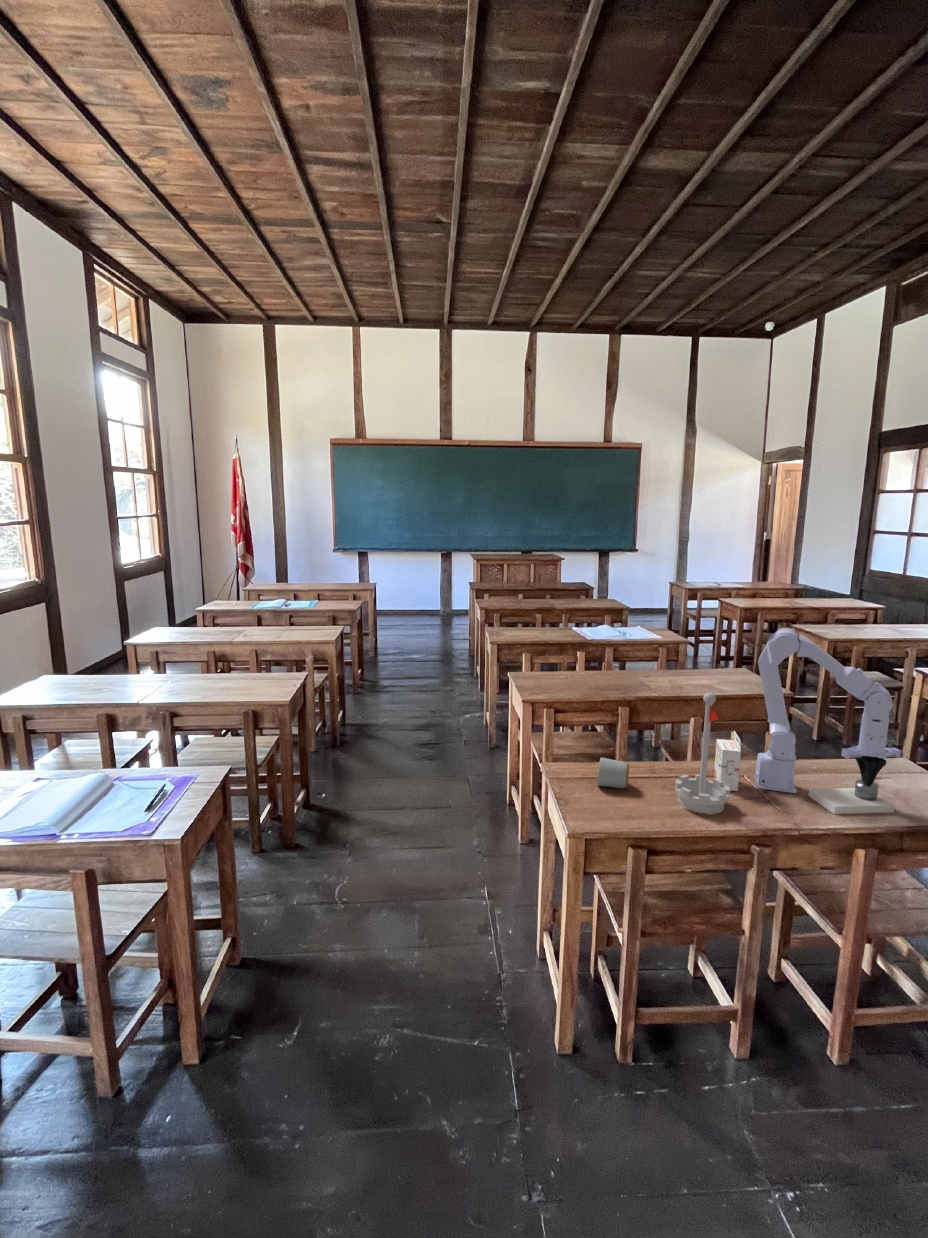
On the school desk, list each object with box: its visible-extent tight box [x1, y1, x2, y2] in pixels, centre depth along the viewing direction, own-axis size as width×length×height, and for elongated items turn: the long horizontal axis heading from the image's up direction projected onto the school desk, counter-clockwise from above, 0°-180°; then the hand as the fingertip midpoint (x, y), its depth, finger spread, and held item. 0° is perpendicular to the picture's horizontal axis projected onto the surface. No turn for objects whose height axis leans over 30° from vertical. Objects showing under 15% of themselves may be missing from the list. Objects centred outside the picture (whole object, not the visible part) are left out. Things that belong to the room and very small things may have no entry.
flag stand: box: [674, 692, 730, 815], centre depth 152 cm, size 13×13×30 cm
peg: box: [854, 779, 880, 801], centre depth 155 cm, size 5×5×5 cm
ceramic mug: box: [597, 757, 630, 789], centre depth 165 cm, size 11×8×8 cm
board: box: [807, 787, 896, 815], centre depth 155 cm, size 16×10×2 cm, turn 94°
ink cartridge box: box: [713, 730, 742, 792], centre depth 165 cm, size 9×5×15 cm, turn 168°
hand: (867, 783), depth 154 cm, fingers closed
